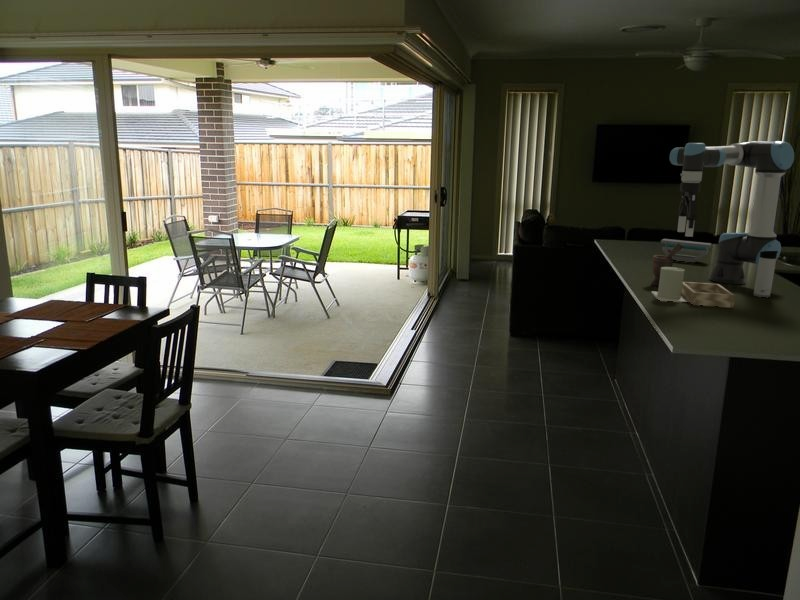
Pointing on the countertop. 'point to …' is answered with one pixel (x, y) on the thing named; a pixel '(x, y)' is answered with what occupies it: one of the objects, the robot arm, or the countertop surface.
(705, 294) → the wooden frame
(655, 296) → the mat
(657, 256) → the mortar and pestle
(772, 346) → the countertop surface
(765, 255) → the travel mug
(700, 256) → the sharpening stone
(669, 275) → the can
